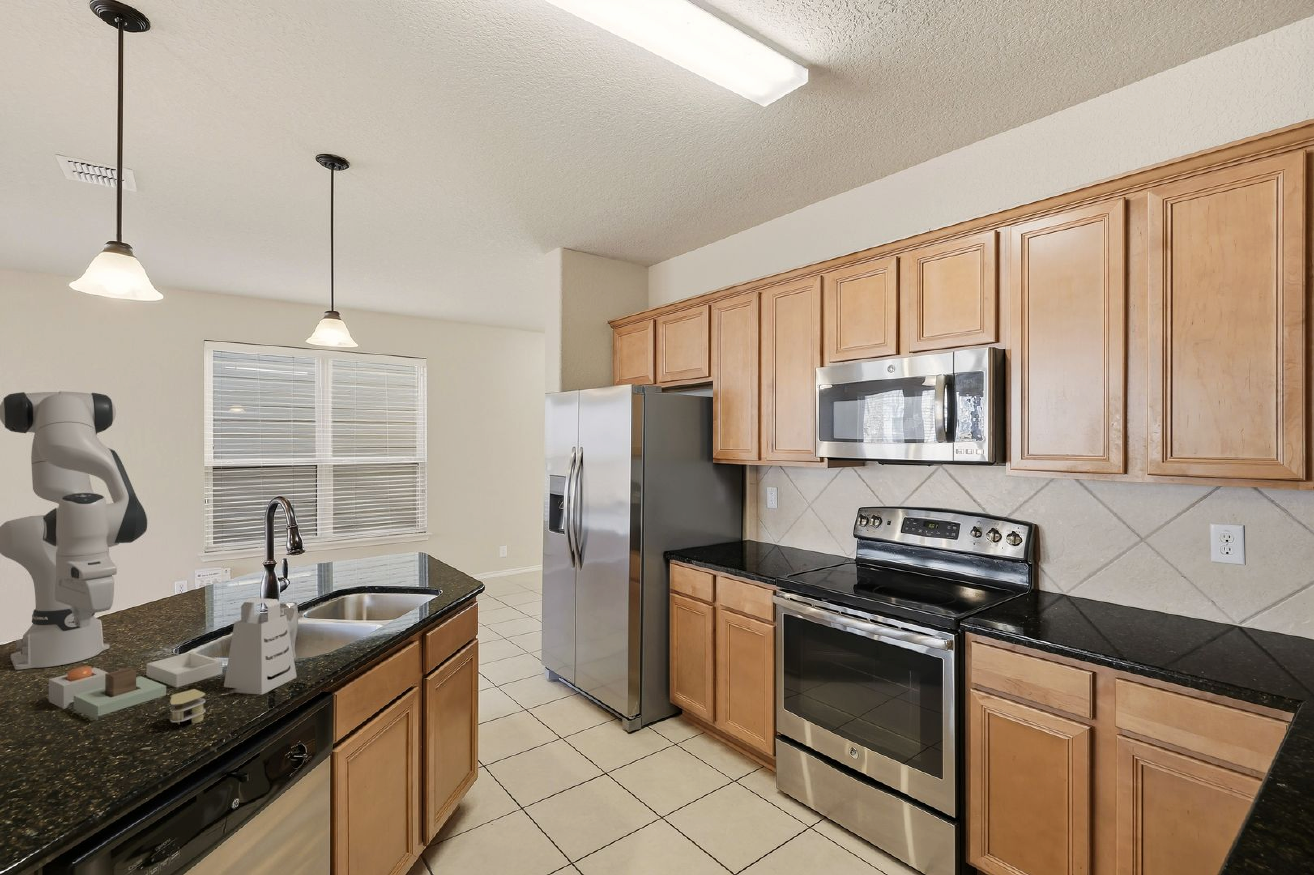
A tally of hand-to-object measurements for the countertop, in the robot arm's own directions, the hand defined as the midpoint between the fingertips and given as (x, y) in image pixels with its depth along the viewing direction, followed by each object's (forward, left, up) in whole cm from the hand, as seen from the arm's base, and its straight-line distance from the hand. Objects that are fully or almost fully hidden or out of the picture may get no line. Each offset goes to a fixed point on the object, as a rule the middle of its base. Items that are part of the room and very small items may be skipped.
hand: (82, 626), depth 138 cm
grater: (+28, +24, -17) cm, 40 cm away
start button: (0, 0, -13) cm, 13 cm away
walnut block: (+12, +3, -15) cm, 20 cm away
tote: (+8, +17, -16) cm, 25 cm away
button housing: (0, 0, -16) cm, 16 cm away
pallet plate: (+12, +3, -16) cm, 20 cm away
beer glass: (+18, +35, -17) cm, 42 cm away
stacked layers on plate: (+35, +5, -17) cm, 39 cm away
